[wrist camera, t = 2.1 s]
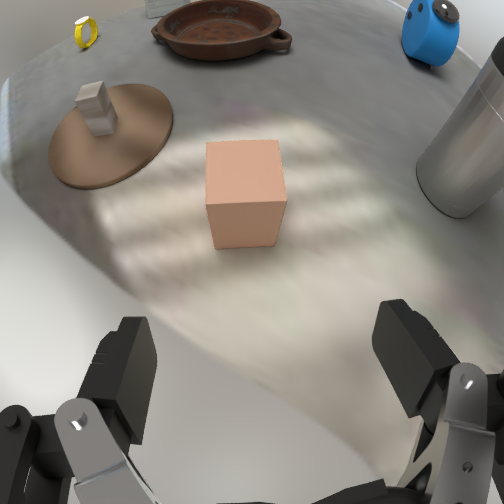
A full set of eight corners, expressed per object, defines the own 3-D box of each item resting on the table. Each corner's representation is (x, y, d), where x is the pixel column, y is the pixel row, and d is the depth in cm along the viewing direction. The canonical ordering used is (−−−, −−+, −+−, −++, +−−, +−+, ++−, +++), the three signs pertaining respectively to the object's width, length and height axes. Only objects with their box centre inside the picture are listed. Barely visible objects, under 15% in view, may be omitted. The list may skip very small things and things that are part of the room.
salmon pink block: (214, 197, 29) (206, 142, 21) (269, 194, 29) (278, 139, 21) (214, 249, 27) (205, 204, 19) (274, 245, 27) (287, 200, 20)
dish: (174, 18, 42) (172, -3, 37) (296, 27, 41) (299, 4, 37) (131, 69, 36) (124, 43, 31) (283, 81, 35) (287, 51, 31)
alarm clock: (438, 81, 39) (472, 18, 25) (408, 68, 39) (439, 1, 25) (422, 45, 43) (446, -9, 29) (395, 35, 43) (417, -22, 29)
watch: (89, 51, 39) (79, 28, 33) (77, 54, 39) (67, 31, 33) (103, 33, 41) (95, 10, 35) (91, 35, 41) (83, 13, 35)
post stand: (119, 77, 35) (107, 40, 29) (201, 115, 32) (195, 67, 26) (33, 154, 30) (8, 120, 24) (98, 215, 28) (67, 177, 21)
